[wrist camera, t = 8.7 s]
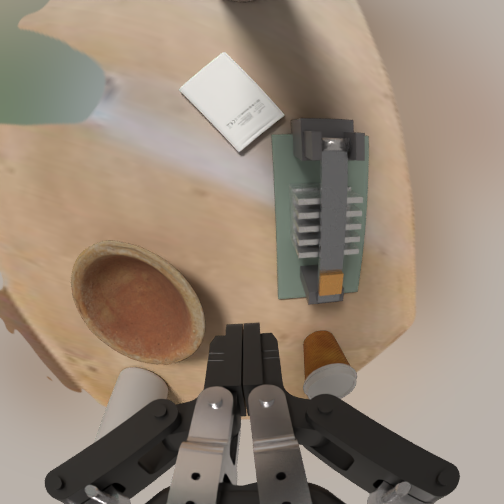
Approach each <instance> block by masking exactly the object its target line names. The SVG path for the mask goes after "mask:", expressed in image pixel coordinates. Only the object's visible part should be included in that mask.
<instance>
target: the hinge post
mask: <svg viewBox="0 0 504 504" xmlns="http://www.w3.org/2000/svg"><path fill="white" fill-rule="evenodd" d="M291 131H292V134H293V154H294V156H295V157H297V158H298V159H300V160H302V161H318V160H322V140H321V138H349V139H350V140H351V151H350V152H348V161H354V160H356V161H365V133H357V132H354V127H353V120H345V119H317V118H300V119H295V120H291Z"/></svg>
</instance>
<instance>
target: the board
mask: <svg viewBox="0 0 504 504" xmlns="http://www.w3.org/2000/svg"><path fill="white" fill-rule="evenodd" d="M271 137H272V154H273V172H274V193H275V216H276V242H277V275H278V299H287V298H299V297H306V295H305V292H304V289H303V286H302V283H301V279H300V266H307V265H319V257H310V258H298V255H297V252H296V250H295V247H294V246H293V243H292V241H291V238H290V204H289V184H303V183H320V160H318V161H302V160H300V159H298V158H297V157H295V156H294V154H293V134H280V135H271ZM368 161H369V138H368V136H365V161H356V160H354V161H348V183H347V185H348V186H350V187H351V190H353V191H354V192H356V193H357V194H359V195H360V196H362V197H363V203H353V204H354V205H356V206H357V207H358V208H359V209H361V210H362V216H353V217H355V218H356V219H357V220H358V221H359V222H360V223H361V229H354V230H355V231H356V233H357V234H358V235H359V236H360V242H354V243H355V245H356V246H357V247H358V248H359V254H350V255H344V258H343V269H342V272H343V274H344V275H343V284H342V286H343V288H344V293H349V292H358V285H359V278H360V271H361V263H362V254H363V245H364V235H365V224H366V210H367V193H368Z"/></svg>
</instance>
